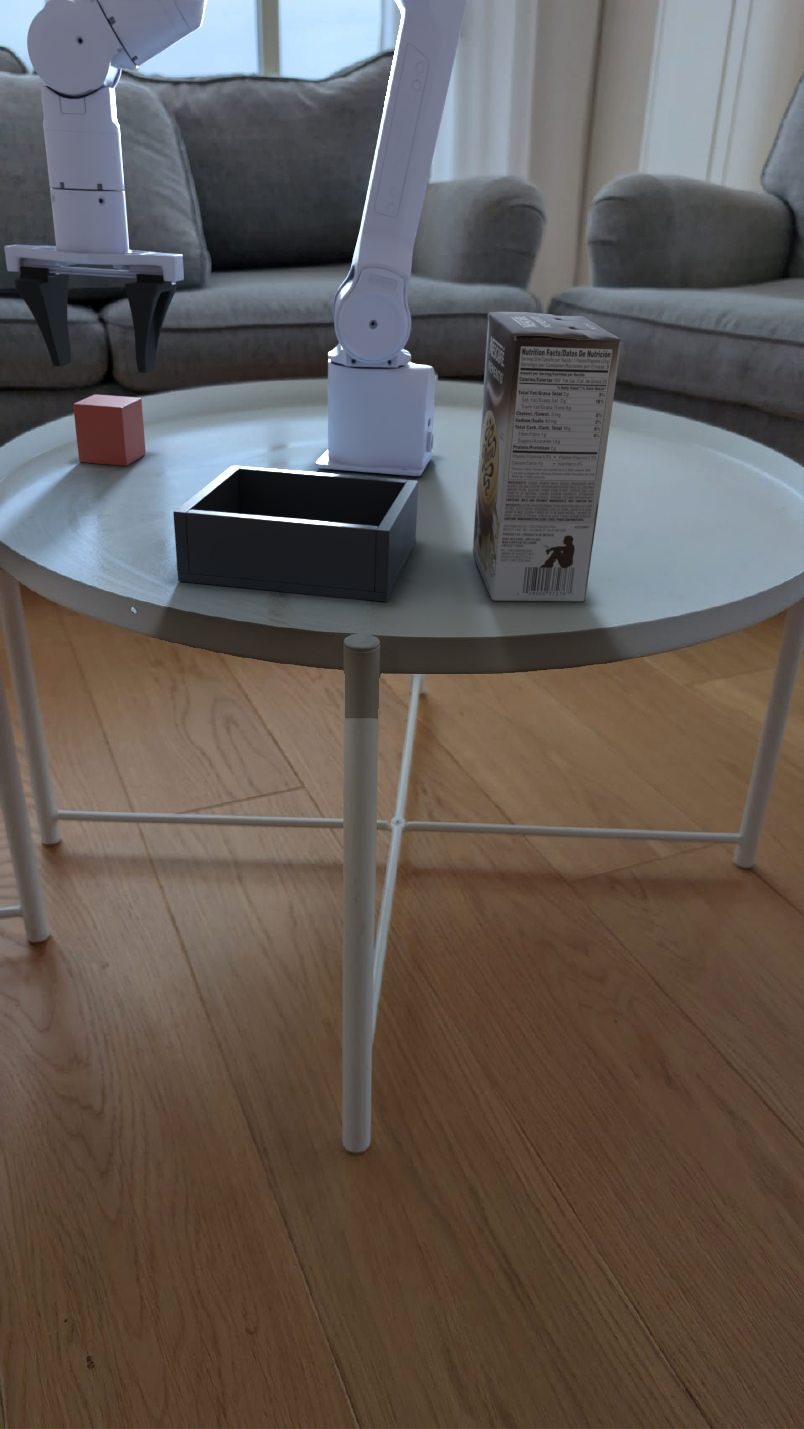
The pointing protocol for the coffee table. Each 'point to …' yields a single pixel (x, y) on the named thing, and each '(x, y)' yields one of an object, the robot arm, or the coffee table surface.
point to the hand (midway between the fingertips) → (104, 367)
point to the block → (109, 429)
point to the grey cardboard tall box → (542, 453)
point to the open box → (298, 532)
